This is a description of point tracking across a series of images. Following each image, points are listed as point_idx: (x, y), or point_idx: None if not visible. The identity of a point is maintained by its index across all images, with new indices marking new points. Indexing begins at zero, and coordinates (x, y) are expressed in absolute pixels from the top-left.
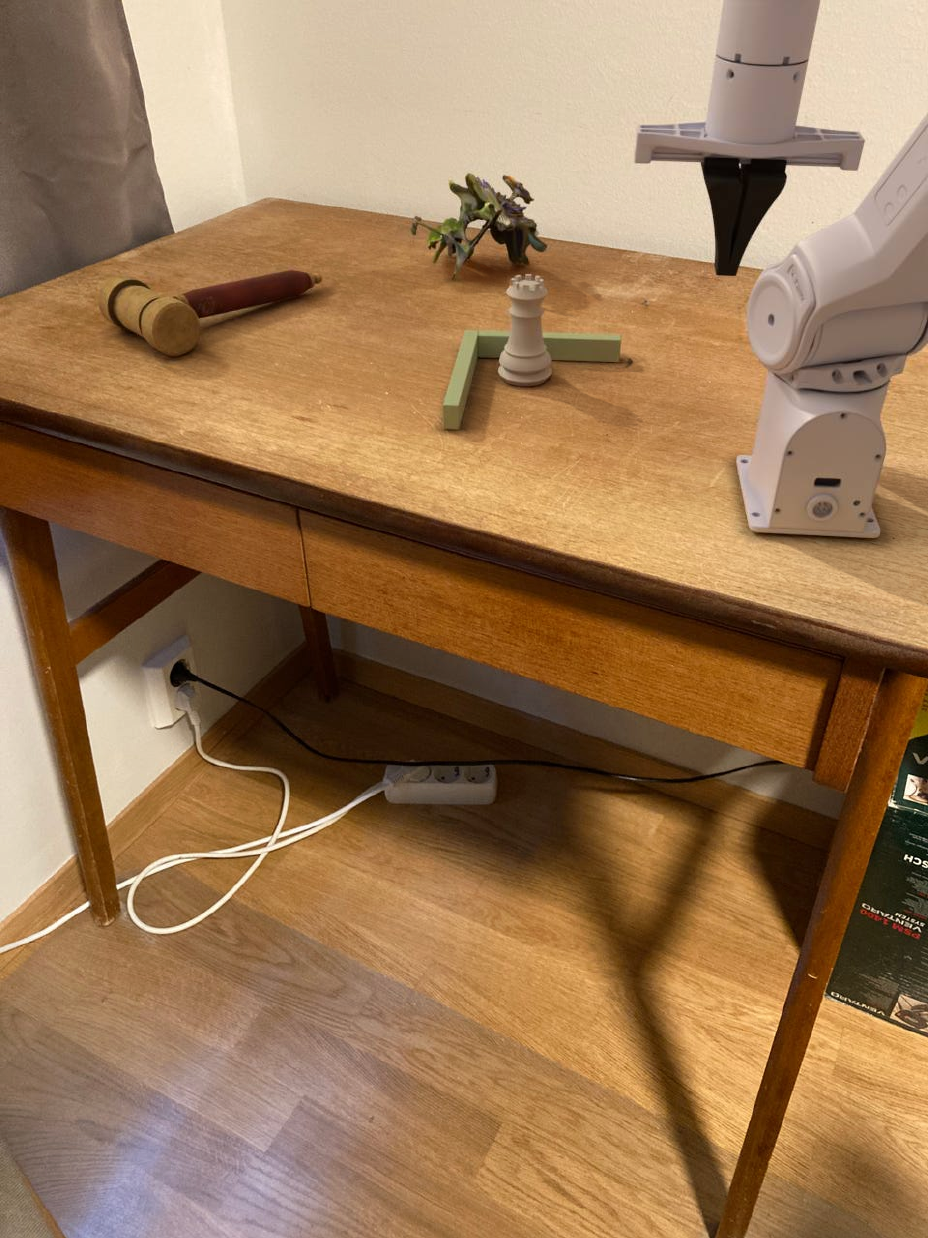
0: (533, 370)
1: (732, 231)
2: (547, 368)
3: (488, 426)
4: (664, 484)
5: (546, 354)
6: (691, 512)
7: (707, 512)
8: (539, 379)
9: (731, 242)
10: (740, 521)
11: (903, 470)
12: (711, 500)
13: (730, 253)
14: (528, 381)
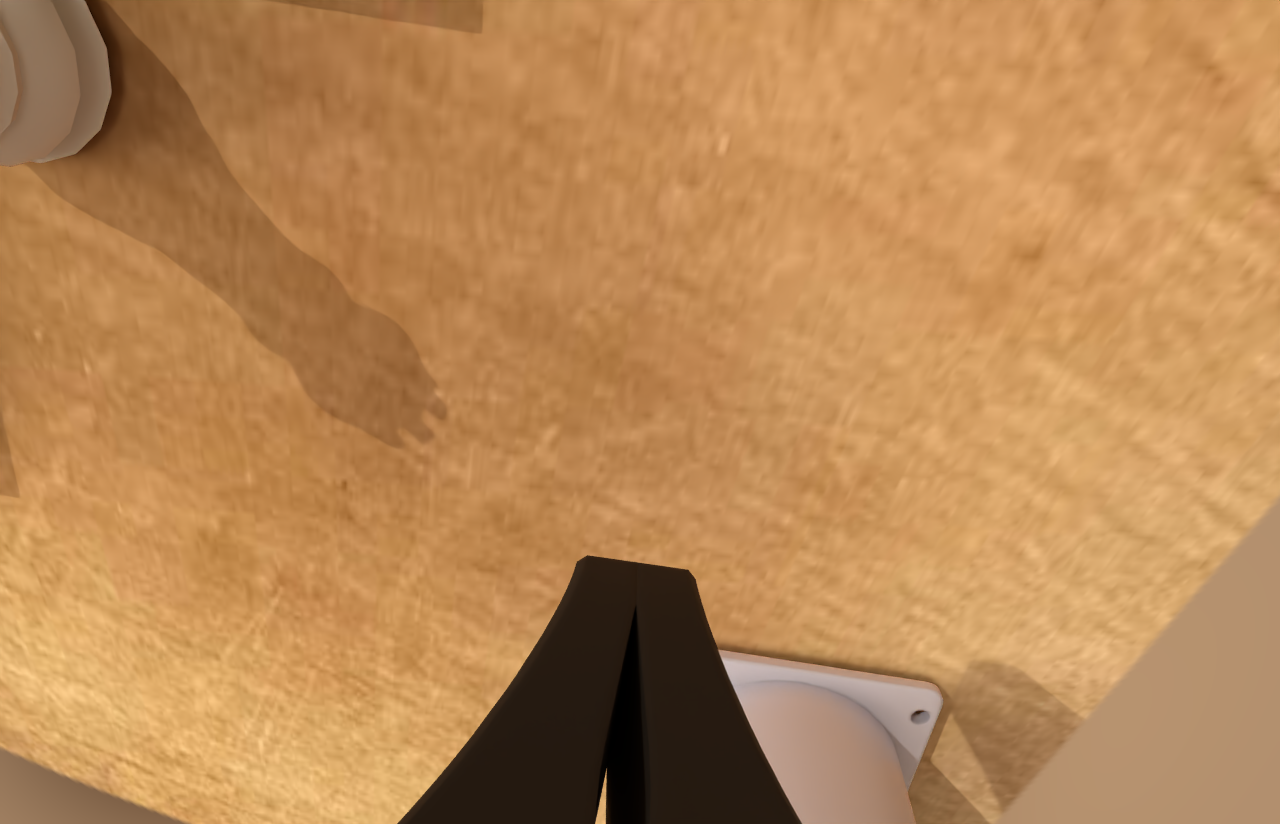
0: (27, 160)
1: (631, 773)
2: (83, 71)
3: (5, 414)
4: (477, 700)
5: (34, 84)
6: None
7: None
8: (76, 148)
9: (620, 775)
10: None
11: (1064, 697)
12: None
13: (612, 777)
14: (41, 160)
